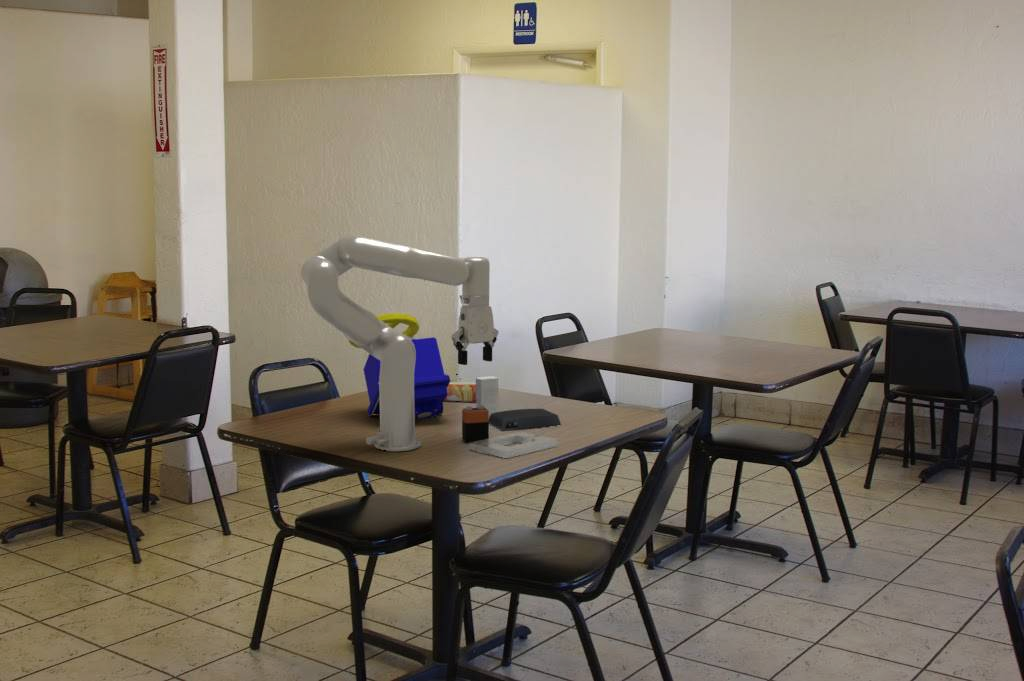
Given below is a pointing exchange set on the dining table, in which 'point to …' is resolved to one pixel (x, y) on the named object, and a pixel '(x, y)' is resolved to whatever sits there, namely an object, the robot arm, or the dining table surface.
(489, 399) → the skincare box
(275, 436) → the dining table surface
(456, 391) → the snack package
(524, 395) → the dining table surface
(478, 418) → the battery
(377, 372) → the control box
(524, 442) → the plate
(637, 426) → the dining table surface
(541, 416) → the external hard drive
